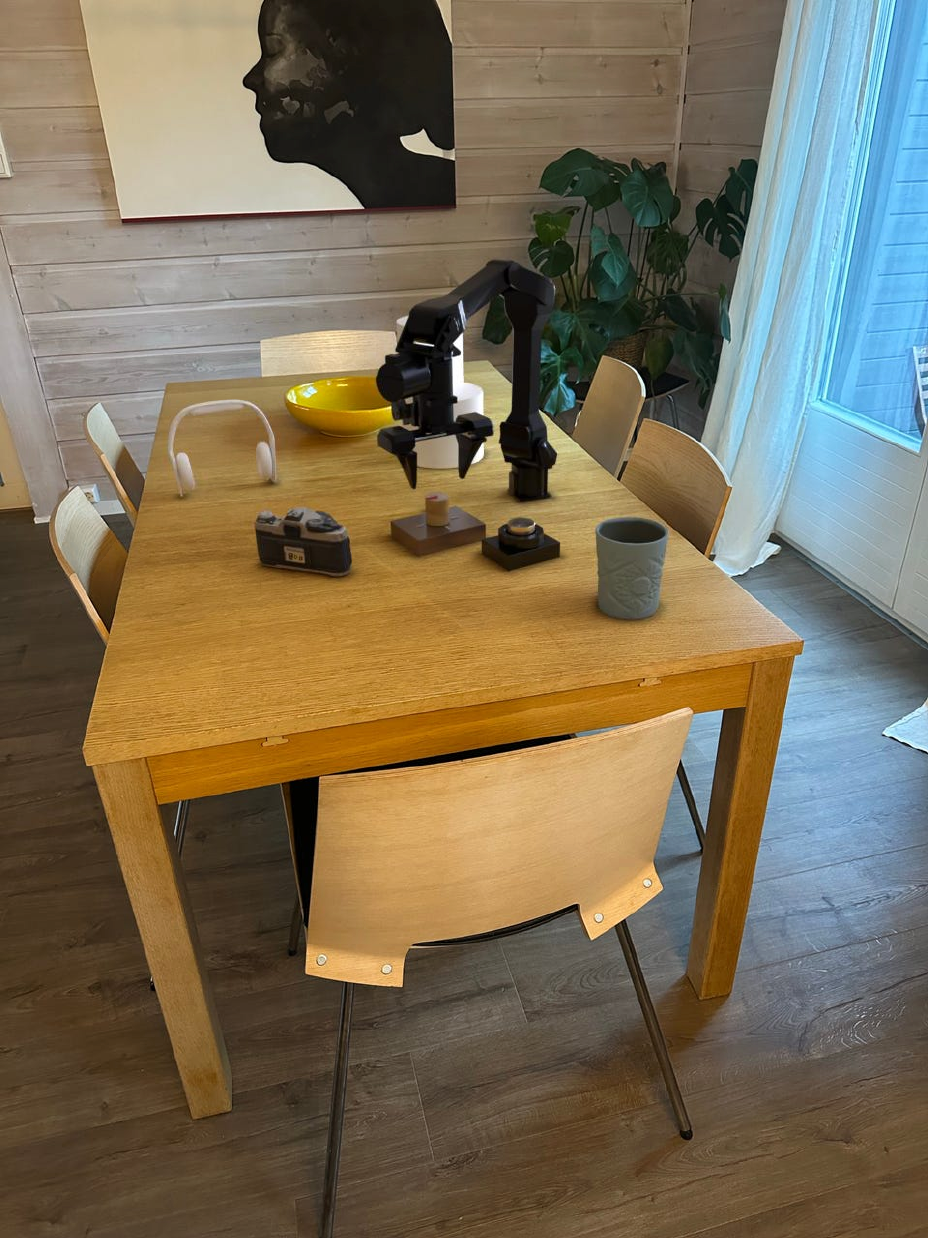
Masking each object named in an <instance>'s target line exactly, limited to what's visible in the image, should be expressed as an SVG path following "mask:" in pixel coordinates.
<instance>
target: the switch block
mask: <svg viewBox="0 0 928 1238" xmlns="http://www.w3.org/2000/svg"><path fill="white" fill-rule="evenodd" d="M543 527H544V526H543ZM543 527H542V526H541V525H539V524H537V523H535V533H534V534H533V535H530V536H526V537H517V536H512V535H509V534H508V533H507V523H504V524H502V525H501V526H500V527H498V528H497V535H493V536H489V537H486V538H485V539H482V541H481V555H482V556H484V557H486V558H487V559H488V560H490V561H491V562H493V563H494V564H496V565H498V566H499V567H500V568H503V569H504V570H505V571H507V572H511V571H515V570H519V569H523V568H526V567H530V566H533V565H537V564H540V563H543V562H547V561H552V560H555V559H558V558H559V559H560V558H561V542H560V540H559V541H558V540H557V539H555V538H553V537H552V536H550V535H548V534H546V533H545V530H544V528H543Z"/></svg>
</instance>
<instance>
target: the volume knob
mask: <svg viewBox="0 0 928 1238" xmlns="http://www.w3.org/2000/svg"><path fill="white" fill-rule="evenodd" d="M424 503H425V504H424V506H425V513H426V523H427V524H428V525H431V526H444V525H447V524H448V523H449V522H450V517H449V507H450V496H449V495H448V494H447V493H443V492H432V493H428V494H426V495H425V497H424Z"/></svg>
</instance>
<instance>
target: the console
mask: <svg viewBox="0 0 928 1238" xmlns="http://www.w3.org/2000/svg"><path fill="white" fill-rule="evenodd" d="M449 517H450V522H449V523H448V524H447V525H444V526H431V525H428V524H427V523H426V512H423V513H419V514H414V515H411V516H406V517H401V518H397V519H393V520H390V523H389V524H390V536H391V538H392V539H394V540H395V541H396V542H397V543H399V544H400V545H402V546H403V547H404V548H405V549H407V550H408V551H410V552H411V553H413V554H414V555H415V556H417V557H418V558H420V557H424V556H428V555H433V554H436V553H440V552H443V551H448V550H452V549H455V548H460V547H464V546H467V545H471V544H476V543H479V542H482V539H485V538H487V524H486V523H485V522H483V521H482V520H481V519H478V518H477V517H475V516H474V515H472V514H470V513H469V512H467V511H465V510H464V509H463V508H460V507H459V506H457V505H453V506H449Z"/></svg>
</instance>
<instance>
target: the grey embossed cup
mask: <svg viewBox="0 0 928 1238" xmlns="http://www.w3.org/2000/svg"><path fill="white" fill-rule="evenodd" d="M669 535H670V531H669V529H668V528H667V526H666V525H664V524H663V523H661V522H659V521H656V520H655V519H654V520H653V519H651V518H646V517H637V516H620V517H613V518H608V519H605V520H603V521H601V522H600V523H598V524H597V525H596V526H595V550H596V558H597V572H596V573H597V577H598V580H597V604H598V607H599V609H600V611H601V613H604V614H606V615H608V617H611V618H612V617H613V618H615V619H620V620H628V621H629V620H630V621H633V620H634V621H635V620H644V619H647V618H650V617H651V616H653V615H655V614H656V612H657V610H658V609H659V608H658V607H659V604H660V596H661V583H662V578H663V568H664V565H665V562H666V554H667V547H668V543H669Z"/></svg>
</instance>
